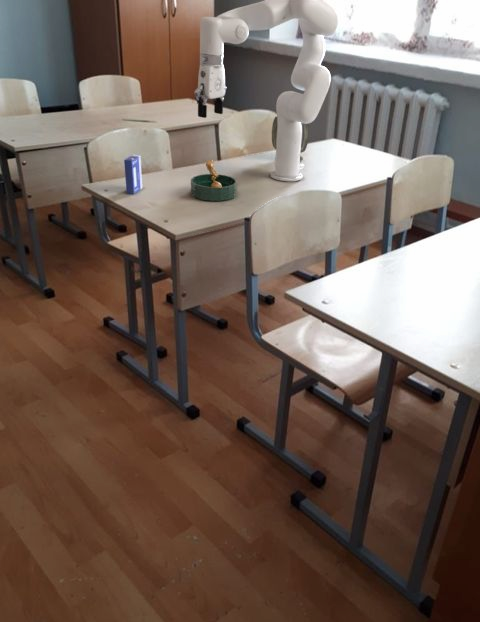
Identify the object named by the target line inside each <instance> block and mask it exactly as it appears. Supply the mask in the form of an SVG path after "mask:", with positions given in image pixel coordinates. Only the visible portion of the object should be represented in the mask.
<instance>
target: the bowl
mask: <svg viewBox="0 0 480 622" xmlns="http://www.w3.org/2000/svg"><path fill="white" fill-rule="evenodd" d="M217 174H218V177H216V179H215V181H216V182H219V183H220V184H221V185H222V187H211V185H212V183H214V182H213V180H212V176H213V175H212V174H211V173H204V174H198V175H195V176H193V177H191V178H190V194H191V196H193V197H194V198H196V199H199V200H203V201H210V202H221V201H228V200H231V199H234V198H236V196H238V182H237V179H236V178H234V177H233V176H230V175H226V174H219V173H217ZM214 177H215V176H214Z"/></svg>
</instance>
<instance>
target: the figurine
mask: <svg viewBox="0 0 480 622" xmlns="http://www.w3.org/2000/svg"><path fill="white" fill-rule="evenodd" d="M205 167H206V169H207V171H208V172H209V174H212V175H213V176H212V180H213V182H214V183H212V185H211V187H222V185H221V184H220V183H219V182H216V181H215V179H216V177H218V174H219V173H217V171H216V170H215V169H214V160H213V159H210V160H209V161H206V162H205ZM214 176H215V177H214Z"/></svg>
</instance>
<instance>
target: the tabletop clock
mask: <svg viewBox="0 0 480 622" xmlns="http://www.w3.org/2000/svg"><path fill="white" fill-rule="evenodd" d="M301 125H302V139H301V151H300V161H303V160H304V157H303V156H301V154H302V153H304V152H305V151H306V150H307V147H308V142H309V133H310V131H309V124H304V123H301ZM277 128H278V121H277V115H276V116H274V118H273V121H272V127H271V143H272V147H273V148H274V150H276V145H277ZM275 160H276V157H275Z"/></svg>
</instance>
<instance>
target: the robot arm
mask: <svg viewBox="0 0 480 622" xmlns="http://www.w3.org/2000/svg"><path fill="white" fill-rule="evenodd" d="M294 19H295V20H296V19H297V20H298V25H299V28H300V31H301V36H302V46H301V49H300V52H299V55H298V58H297V60H296V63H295V64H294V67H293V69H292V73H291V76H290V82H291V85H292V87H294V88H295V89H297V90H300V91H303V93H300V92H297V91H293V90H287V91H283V92H282V93H280V94H279V95H278V98H277V99H276V105H275V110H276V116H277V121H278V128H277V145H276V149H275V158H276V159H275V163H274V170H273V171H271V172H270V177H271V178H272V179H273V180H277V181H280V182H299V181H301V180H302V179H303V174H302V173H301V172H300V171H301V170H303V169H304V168H305V164H304V163H300V162H301V160H300V155H301V153H300V151H301V139H302V125H301V123H304V124H308V125H309V124H311V123H312V122H314V121H315V120H316V119H317V117H318V115H319V113H320V111H321V109H322V106H323V104H324V101H325V99H326V97H327V94H328V92H329V90H330V86H331V73H330V71H329V70H328V68H327V67H325V66H323V65H322V62H323V59H324V57H325V54H326V42H325V39H324V38H325V37H330V36H333V35H334V34H336V32H337V31H338V29H339V27H340V16H339V14H338V12H337V10H336V9H335V8H333V7H332V6H331V5H330V4H328V3H327V2H325V1H324V0H261V1H258V2H254V3H250V4H247V5H244V6H240V7H235V8H233V9H231V10H227V11H226V12H225V11H224V12H223V13H221V14H218V15H217V16H203V17H201V19H200V25H199V69H198V77H197V78H198V79H197V88H196V89H195V90H194V92H193V93H194V97H195V101H196V105H197V117H199V118H202V119H203V118H204V119H206V118H207V115H208V113H207V112H208V105H206V104H207V102H208V100H214V99H215V100H214V102H213V104H214V105H213V107H214V109H213V113H214V114H218V115H223V113H224V102H225V96H226V92H227V89H228V87H227V86H226V74H225V73H226V72H225V66H224V43H227V44H234V45H239V44H243V43H244V42H245V41H246V40H247V39H248V37H249V35H250V34H249V32H250V31H266V30H271V29H274V28H275V27H277V26H280V25H282V24H284V23H287V22H289V21H291V20H294Z"/></svg>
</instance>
